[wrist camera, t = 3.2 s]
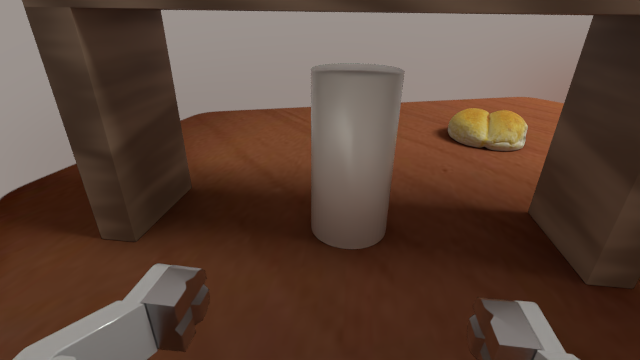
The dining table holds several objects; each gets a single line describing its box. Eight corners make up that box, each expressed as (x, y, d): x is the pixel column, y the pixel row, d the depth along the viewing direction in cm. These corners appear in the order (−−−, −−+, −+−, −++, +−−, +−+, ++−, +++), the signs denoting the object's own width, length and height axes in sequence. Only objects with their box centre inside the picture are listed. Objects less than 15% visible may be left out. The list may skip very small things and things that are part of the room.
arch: (561, 214, 26) (657, -34, 19) (633, 288, 19) (830, -63, 12) (165, 185, 30) (118, -33, 23) (101, 238, 23) (3, -54, 16)
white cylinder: (383, 209, 27) (400, 64, 22) (387, 252, 22) (409, 78, 17) (316, 204, 27) (317, 62, 22) (305, 245, 23) (303, 75, 18)
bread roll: (453, 127, 48) (458, 98, 46) (525, 138, 44) (534, 107, 42) (438, 143, 41) (444, 111, 40) (521, 159, 37) (531, 123, 35)
